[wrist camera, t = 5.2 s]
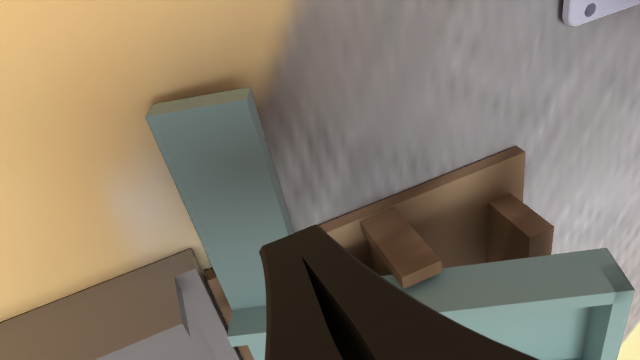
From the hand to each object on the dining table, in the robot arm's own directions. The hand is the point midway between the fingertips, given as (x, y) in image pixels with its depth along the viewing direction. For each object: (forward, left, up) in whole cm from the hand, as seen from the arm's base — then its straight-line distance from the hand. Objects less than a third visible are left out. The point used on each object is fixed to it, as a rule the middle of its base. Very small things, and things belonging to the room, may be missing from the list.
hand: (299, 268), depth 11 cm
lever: (-5, +5, -4) cm, 8 cm away
